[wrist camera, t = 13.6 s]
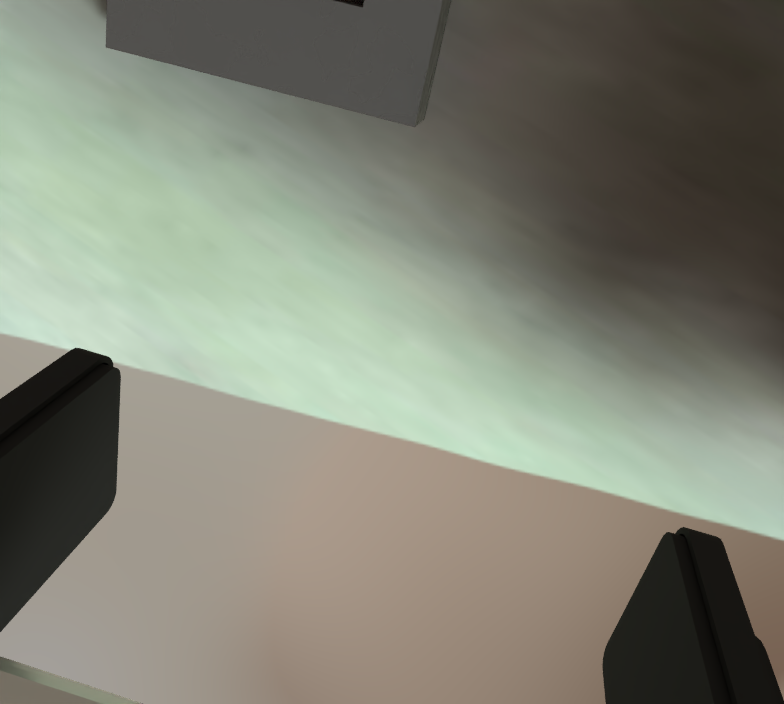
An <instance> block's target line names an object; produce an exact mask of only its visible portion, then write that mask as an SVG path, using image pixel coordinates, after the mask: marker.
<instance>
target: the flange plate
mask: <svg viewBox="0 0 784 704" xmlns="http://www.w3.org/2000/svg"><path fill="white" fill-rule="evenodd" d="M450 3H451V0H364V4H363V5H359V4H355V3H351V2H347V1H343V0H107V23H106V47H107V48H111V49H115V50H118V51H122V52H126V53H130V54H134V55H138V56H142V57H146V58H149V59H153V60H157V61H161V62H165V63H169V64H173V65H177V66H180V67H184V68H188V69H192V70H196V71H200V72H204V73H208V74H211V75H215V76H219V77H223V78H227V79H231V80H235V81H239V82H242V83H246V84H250V85H254V86H258V87H262V88H266V89H270V90H273V91H277V92H281V93H285V94H289V95H293V96H297V97H301V98H304V99H308V100H312V101H316V102H320V103H324V104H328V105H332V106H335V107H339V108H343V109H347V110H351V111H355V112H359V113H363V114H366V115H370V116H374V117H378V118H382V119H386V120H390V121H393V122H397V123H401V124H405V125H409V126H413V127H415V126H416V125H418V124H419V123H420V122H421V121H423V120H424V118H425V113H426V109H427V105H428V100H429V96H430V91H431V87H432V82H433V78H434V74H435V69H436V65H437V60H438V56H439V52H440V47H441V43H442V38H443V34H444V30H445V25H446V21H447V16H448V12H449V7H450Z"/></svg>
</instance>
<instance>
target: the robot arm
mask: <svg viewBox="0 0 784 704" xmlns="http://www.w3.org/2000/svg"><path fill="white" fill-rule="evenodd" d="M120 378H121V376H120V371H119V369H117V368H115V367H113V362H112V360H111V358H109V357H107V356H104V355H101V354H97V353H94V352H91V351H87V350H84V349H80V348H75V349H72V350H70V351H69V352H68V353H66V354H65V355H63V356H62V357H61V358H59V359H57V360H56V361H55V362H53V363H52V364H50V365H49V366H47V367H46V368H44V369H43V370H42V371H40V372H39V373H37V374H36V375H34V376H33V377H31V378H30V379H28V380H27V381H26V382H24V383H23V384H22V385H20V386H19V387H17V388H16V389H14V390H13V391H11V392H10V393H8V394H7V395H5V396H4V397H2V398H1V399H0V632H1V631H2V630H3V628H4V627H5V626H6V625H7V624H8V623H9V622H10V621H11V620H12V619H13V617H14V616H15V615H16V614H17V613H18V612H19V611H20V610H21V608H22V607H23V606H24V605H25V604H26V603H27V602H28V600H29V599H30V598H31V597H32V596H33V595H34V594H35V593H36V592H37V590H38V589H39V588H40V587H41V586H42V585H43V583H45V581H46V580H47V579H48V578H49V577H50V576H51V575H52V574H53V572H54V571H55V570H56V569H57V568H58V567H59V566H60V565H61V564H62V562H63V561H64V560H65V559H66V558H67V557H68V556H69V555H70V553H71V552H72V551H73V550H74V549H75V548H76V547H77V546H78V545H79V543H80V542H81V541H82V540H83V539H84V538H85V536H87V534H88V533H89V532H90V531H91V530H92V529H93V528H94V527H95V525H96V524H97V523H98V522H99V521H100V520H101V519H102V518H103V517H104V515H105V514H106V513H107V512H108V510H109V509H110V507H111V506H112V503H113V501H114V498H115V495H116V483H117V482H116V481H117V458H118V456H117V455H118V432H119V406H120V380H121V379H120ZM603 677H604V688H605V699H606V704H784V700H783V697H782V694H781V692H780V689H779V686H778V683H777V680H776V677H775V675H774V672H773V669H772V666H771V664H770V660H769V658H768V655H767V652H766V650H765V648H764V646H763V644H762V642H761V640H759V639H758V638H757V637H756V636H755V634H754V632H753V629H752V626H751V623H750V620H749V617H748V614H747V611H746V608H745V605H744V603H743V600H742V597H741V594H740V591H739V588H738V586H737V582H736V580H735V576H734V574H733V571H732V568H731V565H730V562H729V559H728V556H727V553H726V550H725V547H724V545H723V542H722V541H721V539H720V538H718V537H716V536H712V535H709V534H706V533H702V532H698V531H695V530H692V529H688V528H685V527H683V528H680V529H679V530H678V531H677V532H676V533H675V534H674V533H670V532H667V533H666V534H665V535H664V536H663V537H662V539H661V541H660V543H659V545H658V547H657V549H656V550H655V553H654V555H653V556H652V558H651V560H650V562H649V564H648V566H647V568H646V570H645V572H644V574H643V576H642V578H641V579H640V581H639V583H638V585H637V587H636V589H635V591H634V593H633V595H632V597H631V599H630V601H629V603H628V605H627V607H626V609H625V610H624V612H623V615H622V616H621V618H620V620H619V622H618V624H617V626H616V628H615V630H614V632H613V634H612V636H611V637H610V640H609V641H608V643H607V646H606V648H605V652H604V657H603ZM0 704H143V703H139V702H136V701H133V700H130V699H127V698H124V697H121V696H118V695H115V694H112V693H109V692H106V691H103V690H100V689H97V688H94V687H91V686H88V685H85V684H82V683H79V682H76V681H73V680H70V679H67V678H64V677H61V676H58V675H55V674H52V673H49V672H45V671H43V670H40V669H37V668H34V667H31V666H27V665H25V664H21V663H19V662H15V661H12V660H9V659H6V658H3V657H0Z"/></svg>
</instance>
